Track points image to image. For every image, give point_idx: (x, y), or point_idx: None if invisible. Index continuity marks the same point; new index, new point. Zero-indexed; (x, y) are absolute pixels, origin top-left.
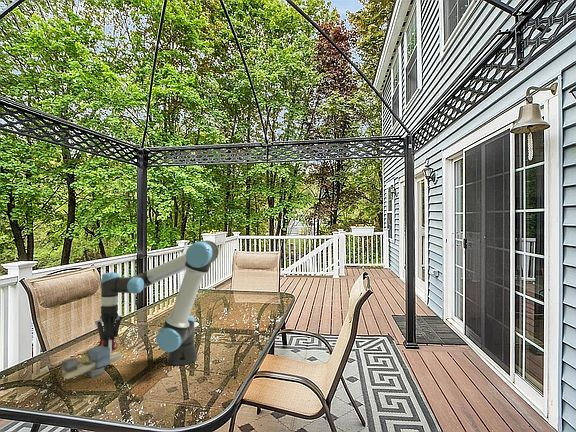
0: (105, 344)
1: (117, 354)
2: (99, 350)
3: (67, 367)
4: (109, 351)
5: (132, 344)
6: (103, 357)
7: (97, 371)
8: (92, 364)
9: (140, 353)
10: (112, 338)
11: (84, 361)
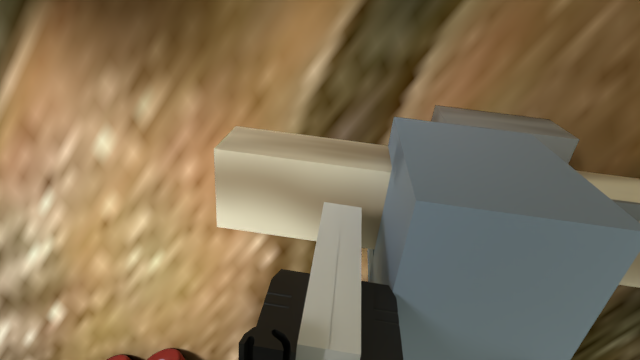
0: (395, 330)
1: (260, 168)
2: (569, 261)
3: None
4: (418, 176)
5: (7, 328)
6: (498, 162)
7: (514, 125)
8: None
9: (27, 174)
10: (293, 357)
11: None
